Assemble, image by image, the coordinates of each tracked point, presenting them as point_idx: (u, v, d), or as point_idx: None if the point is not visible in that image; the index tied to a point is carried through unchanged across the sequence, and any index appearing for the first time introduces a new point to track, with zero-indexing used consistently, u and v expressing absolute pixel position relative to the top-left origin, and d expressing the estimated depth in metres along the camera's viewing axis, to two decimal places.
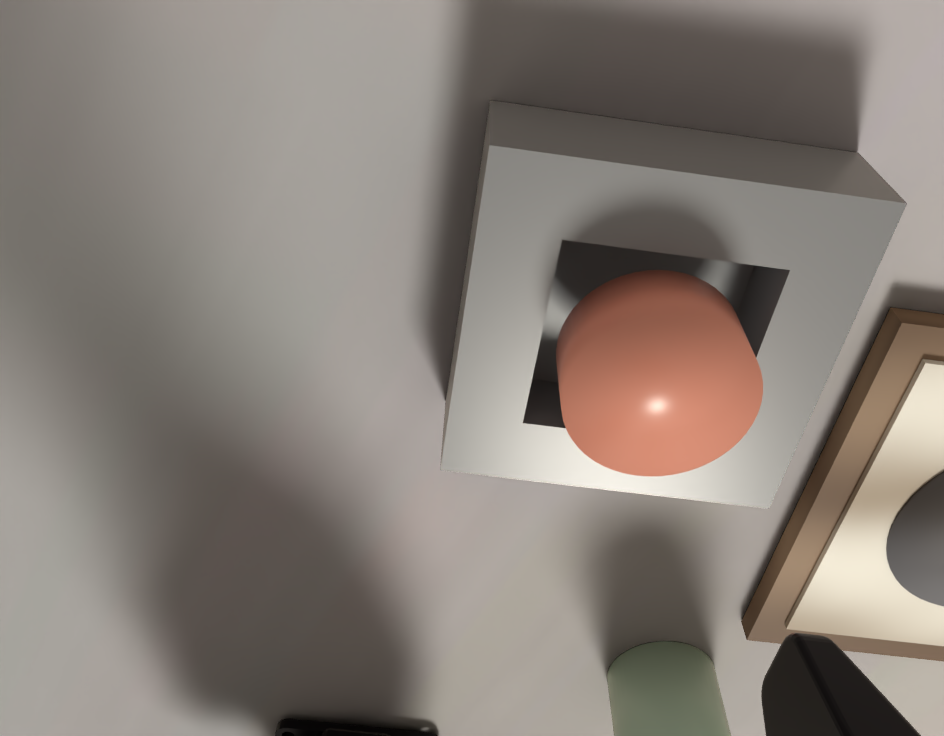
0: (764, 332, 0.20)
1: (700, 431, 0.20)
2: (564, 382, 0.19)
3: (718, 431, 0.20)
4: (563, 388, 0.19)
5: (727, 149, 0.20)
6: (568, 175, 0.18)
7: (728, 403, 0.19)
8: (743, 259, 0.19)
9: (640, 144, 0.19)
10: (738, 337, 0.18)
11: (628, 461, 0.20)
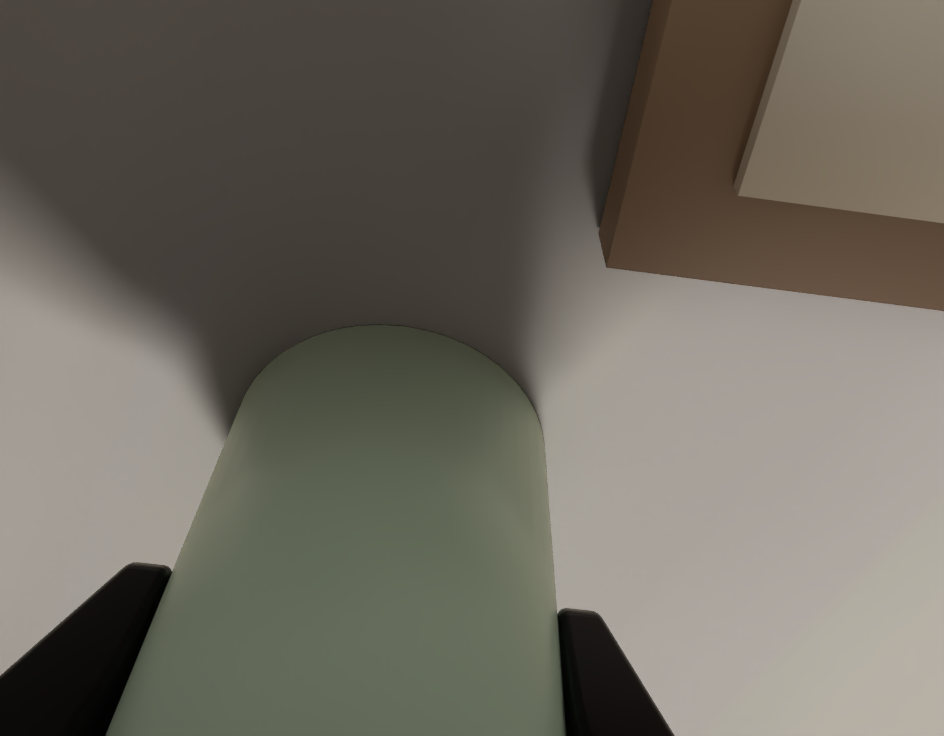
0: None
1: None
2: None
3: None
4: None
5: None
6: None
7: None
8: None
9: None
10: None
11: None
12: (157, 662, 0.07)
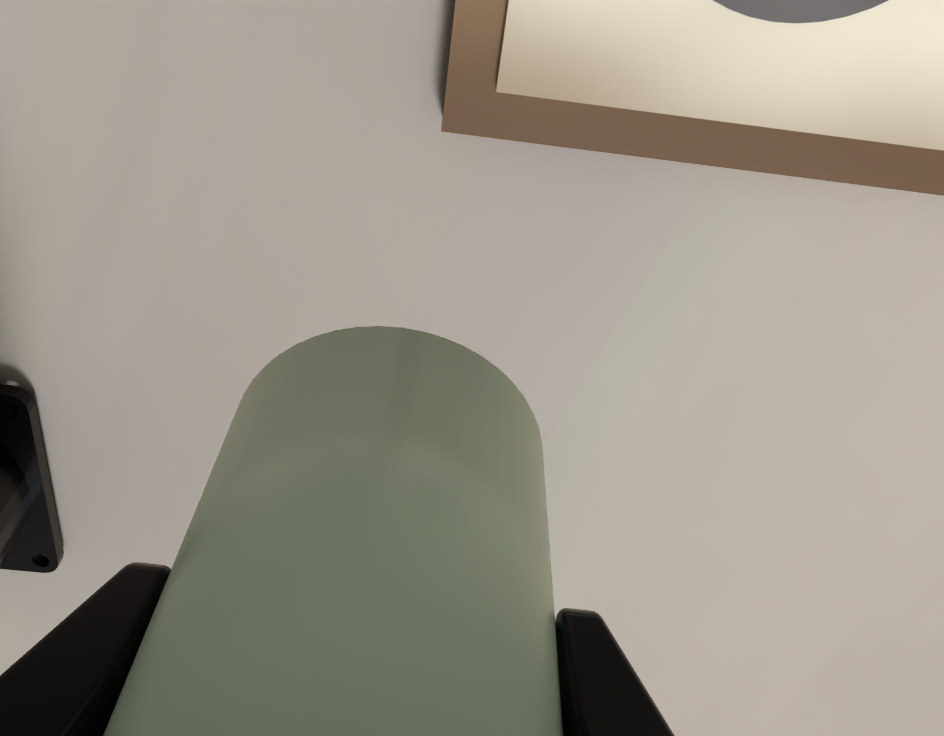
0: None
1: None
2: None
3: None
4: None
5: None
6: None
7: None
8: None
9: None
10: None
11: None
12: (154, 664, 0.07)
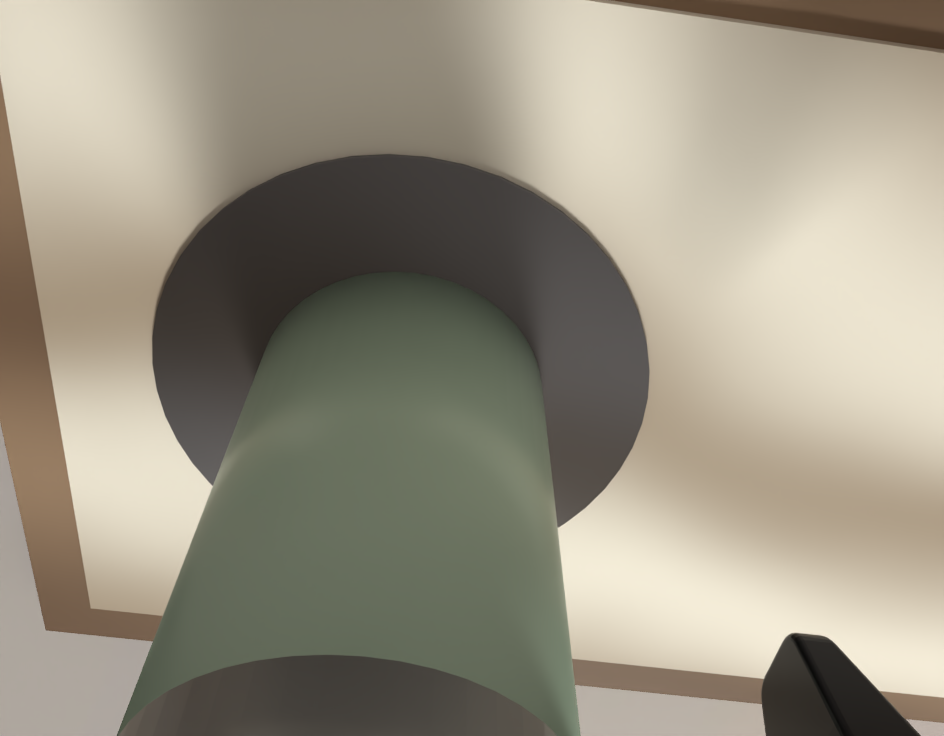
0: None
1: None
2: None
3: None
4: None
5: None
6: None
7: None
8: None
9: None
10: None
11: None
12: (213, 538, 0.08)
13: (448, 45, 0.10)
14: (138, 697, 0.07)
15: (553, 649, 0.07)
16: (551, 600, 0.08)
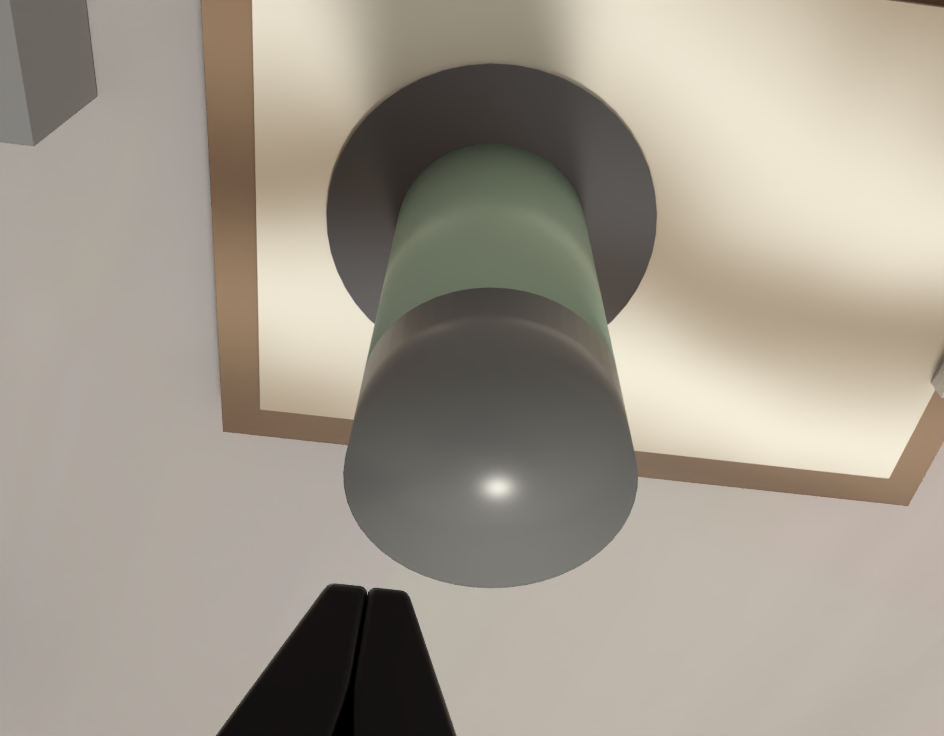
0: None
1: None
2: None
3: None
4: None
5: None
6: None
7: None
8: None
9: None
10: None
11: None
12: (408, 265, 0.14)
13: None
14: (384, 327, 0.13)
15: (600, 317, 0.14)
16: (597, 300, 0.14)
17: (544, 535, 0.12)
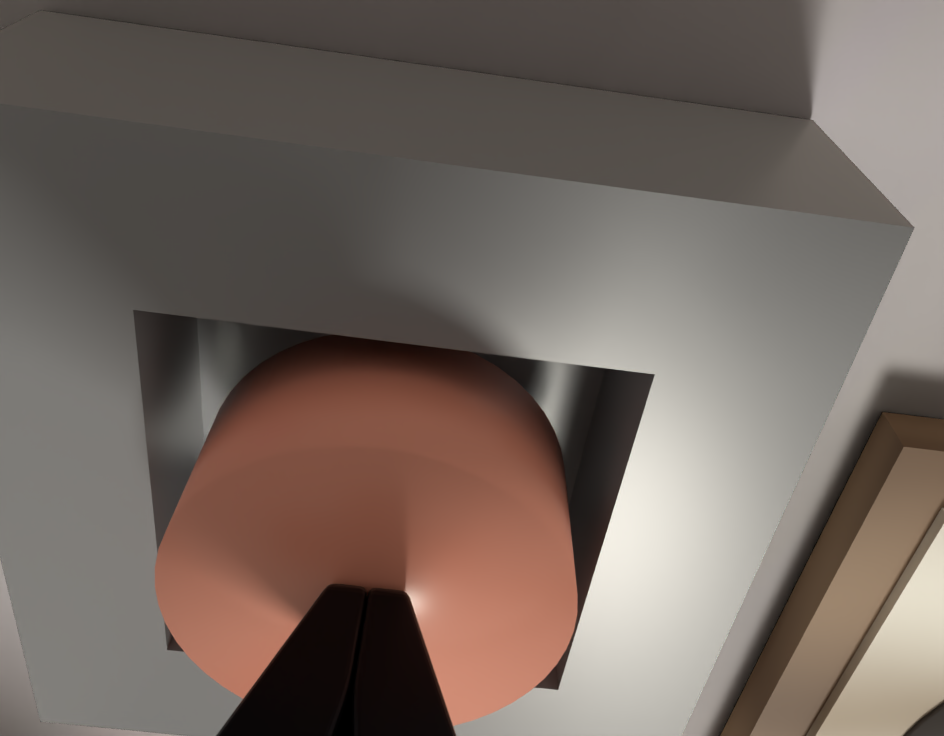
0: (615, 495, 0.10)
1: (463, 662, 0.10)
2: (157, 573, 0.09)
3: (498, 662, 0.10)
4: (157, 584, 0.09)
5: (525, 107, 0.09)
6: (101, 163, 0.08)
7: (507, 614, 0.09)
8: (548, 352, 0.09)
9: (315, 95, 0.09)
10: (504, 490, 0.08)
11: None
12: None
13: None
14: None
15: None
16: None
17: None
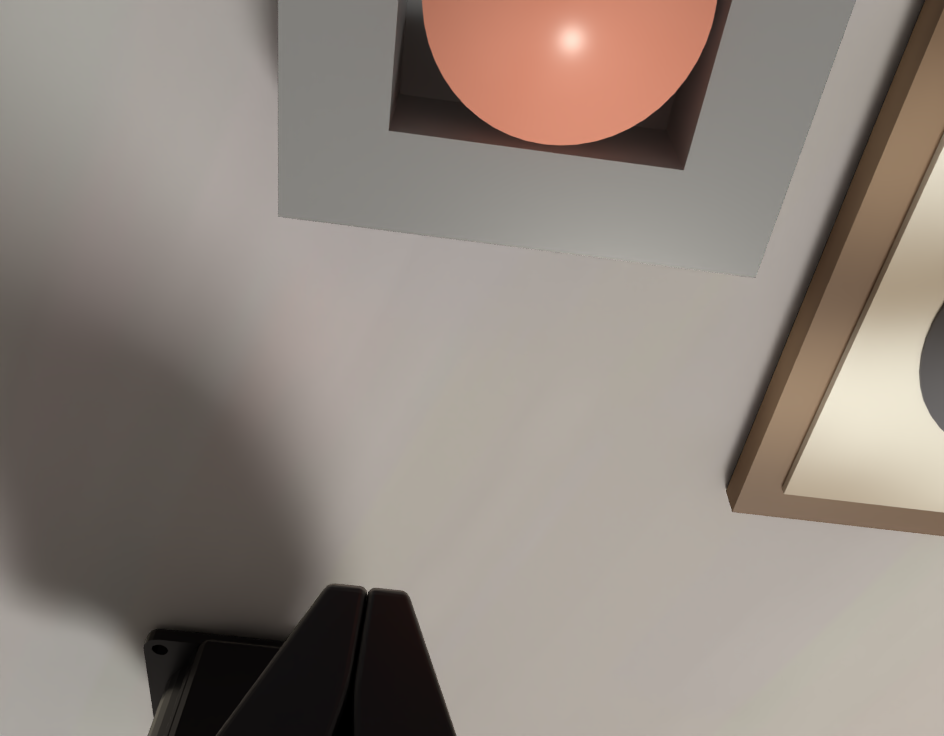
0: None
1: (630, 61, 0.13)
2: None
3: (655, 59, 0.13)
4: None
5: None
6: None
7: (667, 6, 0.13)
8: None
9: None
10: None
11: (528, 119, 0.14)
12: None
13: None
14: None
15: None
16: None
17: None
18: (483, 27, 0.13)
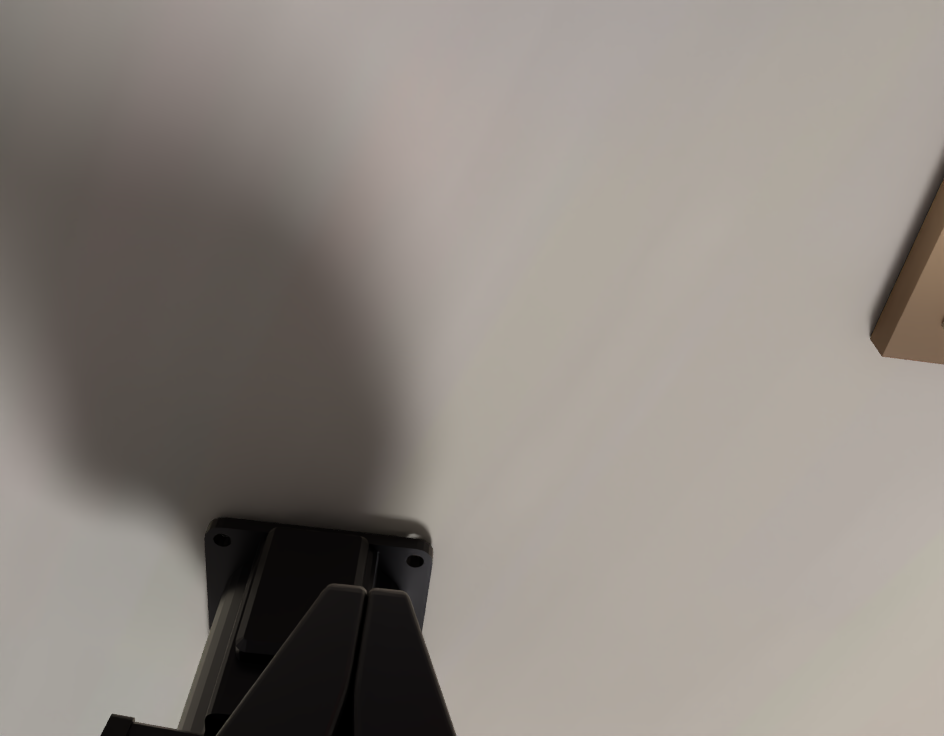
0: None
1: None
2: None
3: None
4: None
5: None
6: None
7: None
8: None
9: None
10: None
11: None
12: None
13: None
14: None
15: None
16: None
17: None
18: None
